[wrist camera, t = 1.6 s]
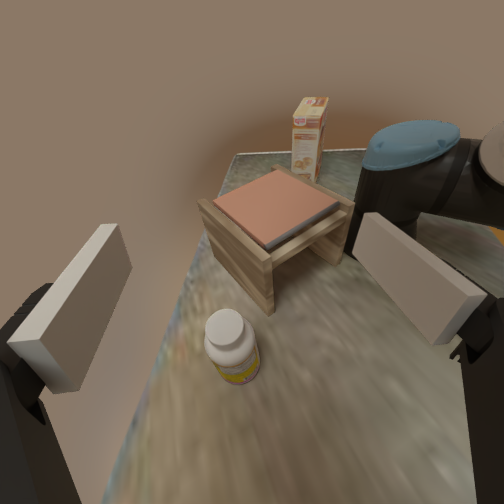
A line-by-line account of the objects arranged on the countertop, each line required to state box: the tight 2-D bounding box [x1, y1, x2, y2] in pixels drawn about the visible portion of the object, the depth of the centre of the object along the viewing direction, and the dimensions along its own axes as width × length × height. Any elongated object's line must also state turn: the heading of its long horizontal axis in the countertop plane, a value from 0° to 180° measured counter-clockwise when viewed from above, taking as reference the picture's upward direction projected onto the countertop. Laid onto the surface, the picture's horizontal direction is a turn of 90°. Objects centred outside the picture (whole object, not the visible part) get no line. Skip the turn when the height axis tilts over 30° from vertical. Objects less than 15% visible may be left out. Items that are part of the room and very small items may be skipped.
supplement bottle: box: [204, 309, 260, 384], centre depth 33 cm, size 7×7×13 cm
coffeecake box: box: [292, 97, 329, 183], centre depth 67 cm, size 15×7×20 cm, turn 161°
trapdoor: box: [213, 169, 340, 250], centre depth 40 cm, size 15×16×1 cm
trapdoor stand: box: [197, 164, 355, 317], centre depth 46 cm, size 19×20×15 cm
